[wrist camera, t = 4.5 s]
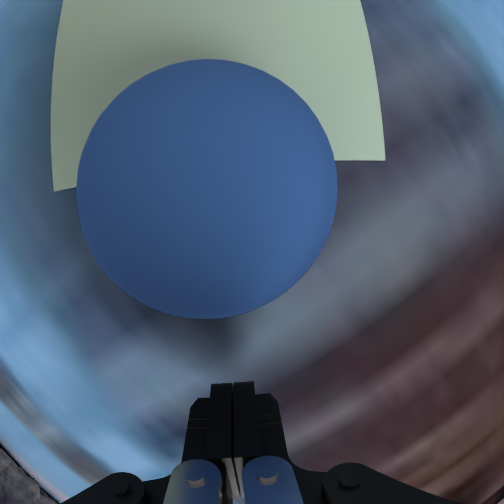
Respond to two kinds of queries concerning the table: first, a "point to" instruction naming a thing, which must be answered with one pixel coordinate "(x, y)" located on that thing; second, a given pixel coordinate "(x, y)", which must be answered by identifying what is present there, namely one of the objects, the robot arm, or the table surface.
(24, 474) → the geode
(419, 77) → the table surface
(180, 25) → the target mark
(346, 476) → the robot arm
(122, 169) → the ball
